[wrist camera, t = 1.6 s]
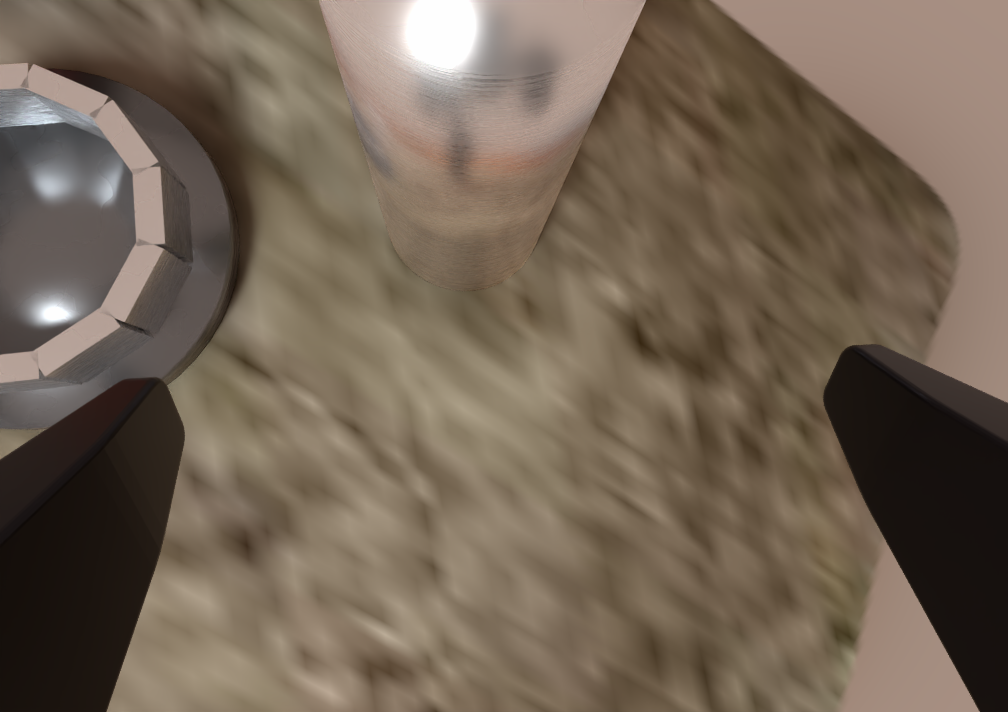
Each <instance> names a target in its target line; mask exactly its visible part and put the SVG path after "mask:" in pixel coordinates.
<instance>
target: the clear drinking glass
mask: <svg viewBox="0 0 1008 712" xmlns="http://www.w3.org/2000/svg"><path fill="white" fill-rule="evenodd" d="M645 2H646V0H319V3H320V6H321V10H322V13H323V16H324V20H325V23H326V26H327V30H328V33H329V36H330V40H331V43H332V46H333V50H334V53H335V56H336V60H337V63H338V66H339V70H340V73H341V76H342V80H343V83H344V86H345V90H346V93H347V96H348V100H349V103H350V106H351V110H352V113H353V116H354V120H355V123H356V127H357V130H358V133H359V137H360V140H361V143H362V147H363V150H364V153H365V157H366V160H367V163H368V167H369V170H370V173H371V177H372V180H373V183H374V187H375V190H376V193H377V197H378V200H379V203H380V207H381V210H382V213H383V217H384V220H385V223H386V227H387V230H388V233H389V236H390V240H391V242H392V245H393V247H394V249H395V251H396V252H397V254H398V255H399V257H400V258H401V260H402V261H403V262H404V263H405V265H406V266H407V267H408V268H409V269H410V270H412V271H413V272H414V273H415V274H416V275H418V276H419V277H421V278H422V279H424V280H425V281H427V282H429V283H431V284H433V285H436V286H439V287H442V288H445V289H450V290H456V291H475V290H481V289H485V288H488V287H492V286H494V285H497V284H499V283H501V282H503V281H505V280H506V279H508V278H509V277H511V276H512V275H513V274H515V273H516V272H517V271H518V270H519V269H520V268H521V267H522V266H523V265H524V264H525V262H526V261H527V260H528V258H529V257H530V255H531V253H532V251H533V249H534V247H535V245H536V243H537V241H538V239H539V236H540V234H541V232H542V230H543V228H544V225H545V223H546V221H547V219H548V217H549V214H550V212H551V210H552V208H553V205H554V203H555V201H556V199H557V197H558V194H559V192H560V190H561V188H562V186H563V183H564V181H565V179H566V177H567V174H568V172H569V170H570V168H571V166H572V163H573V161H574V159H575V157H576V155H577V152H578V150H579V148H580V146H581V143H582V141H583V139H584V137H585V135H586V132H587V130H588V128H589V126H590V124H591V121H592V119H593V117H594V115H595V112H596V110H597V108H598V106H599V104H600V101H601V99H602V97H603V95H604V93H605V90H606V88H607V86H608V84H609V81H610V79H611V77H612V75H613V73H614V70H615V68H616V66H617V64H618V62H619V59H620V57H621V55H622V53H623V50H624V48H625V46H626V44H627V42H628V39H629V37H630V35H631V33H632V31H633V28H634V26H635V24H636V22H637V19H638V17H639V15H640V13H641V11H642V8H643V6H644V4H645Z"/></svg>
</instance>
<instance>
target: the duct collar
mask: <svg viewBox="0 0 1008 712" xmlns="http://www.w3.org/2000/svg"><path fill="white" fill-rule="evenodd" d="M238 262H239V230H238V223H237V217H236V211H235V208H234V205H233V201H232V198H231V195H230V192H229V190H228V187H227V185H226V183H225V181H224V179H223V177H222V174H221V172H220V171H219V169H218V168H217V166H216V165H215V163H214V162H213V160H212V158H211V157H210V155H209V154H208V153H207V152H206V151H205V149H204V148H203V147H202V146H201V145H200V144H199V142H198V141H197V140H196V139H195V138H194V137H193V135H192V134H191V133H190V132H189V131H188V130H187V128H186V127H185V126H184V125H183V124H182V123H181V122H180V121H179V120H178V119H177V118H175V117H174V116H173V115H172V114H171V113H170V112H169V111H168V110H166V109H165V108H164V107H162V106H161V105H159V104H158V103H156V102H155V101H153V100H152V99H151V98H149V97H148V96H146V95H144V94H142V93H140V92H138V91H136V90H134V89H132V88H130V87H128V86H126V85H124V84H121V83H118V82H116V81H113V80H110V79H107V78H105V77H101V76H97V75H92V74H88V73H84V72H80V71H71V70H62V69H44V68H42V67H39V66H37V65H35V64H33V66H31V65H29V64H28V63H19V64H3V65H0V428H5V429H35V430H38V429H48V428H49V427H51V426H52V425H54V424H55V423H57V422H58V421H60V420H61V419H63V418H64V417H66V416H68V415H69V414H71V413H72V412H74V411H75V410H77V409H78V408H80V407H81V406H83V405H84V404H86V403H87V402H89V401H90V400H92V399H93V398H95V397H96V396H98V395H99V394H101V393H102V392H104V391H106V390H107V389H109V388H110V387H112V386H113V385H115V384H116V383H118V382H119V381H121V380H123V379H127V378H140V377H158V378H160V379H162V380H163V381H164V382H165V383H166V385H168V384H169V383H171V382H172V381H173V380H174V379H176V378H177V377H178V376H179V375H180V374H181V373H182V372H183V371H184V370H185V369H186V368H187V367H188V366H189V365H190V364H191V363H192V362H193V361H194V360H195V359H196V358H197V356H198V355H199V354H200V353H201V351H202V350H203V349H204V347H205V346H206V345H207V344H208V342H209V341H210V339H211V338H212V336H213V334H214V333H215V331H216V329H217V327H218V326H219V324H220V322H221V321H222V318H223V316H224V314H225V311H226V309H227V307H228V304H229V302H230V299H231V296H232V292H233V289H234V285H235V281H236V277H237V270H238Z"/></svg>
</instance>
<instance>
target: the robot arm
mask: <svg viewBox="0 0 1008 712" xmlns="http://www.w3.org/2000/svg"><path fill="white" fill-rule="evenodd" d="M823 401H824V406H825V410H826V412H827V414H828V417H829V419H830V421H831V424H832V426H833V429H834V431H835V433H836V436H837V438H838V440H839V443H840V445H841V448H842V450H843V452H844V455H845V457H846V459H847V462H848V464H849V467H850V469H851V471H852V474H853V476H854V479H855V481H856V483H857V486H858V488H859V490H860V492H861V494H862V497H863V499H864V501H865V503H866V505H867V507H868V509H869V511H870V513H871V515H872V517H873V518H874V520H875V522H876V524H877V526H878V527H879V529H880V531H881V533H882V535H883V537H884V538H885V540H886V542H887V544H888V546H889V548H890V549H891V551H892V553H893V555H894V556H895V558H896V560H897V562H898V564H899V566H900V568H901V569H902V571H903V573H904V575H905V577H906V578H907V580H908V582H909V584H910V586H911V588H912V589H913V591H914V593H915V595H916V597H917V598H918V600H919V602H920V604H921V606H922V608H923V609H924V611H925V613H926V615H927V617H928V619H929V620H930V622H931V624H932V626H933V627H934V629H935V631H936V633H937V635H938V637H939V638H940V640H941V642H942V644H943V646H944V648H945V649H946V651H947V653H948V655H949V657H950V659H951V660H952V662H953V664H954V666H955V668H956V669H957V671H958V673H959V675H960V676H961V679H962V680H963V682H964V684H965V686H966V687H967V689H968V691H969V693H970V695H971V697H972V699H973V700H974V702H975V704H976V706H977V708H978V710H979V711H980V712H1008V403H1007V402H1004V401H1002V400H1000V399H998V398H995V397H993V396H991V395H989V394H987V393H985V392H982V391H980V390H978V389H976V388H974V387H972V386H969V385H967V384H965V383H963V382H961V381H958V380H956V379H954V378H952V377H949V376H947V375H945V374H943V373H941V372H939V371H936V370H934V369H932V368H930V367H928V366H925V365H923V364H921V363H919V362H917V361H915V360H912V359H910V358H908V357H906V356H904V355H901V354H899V353H897V352H895V351H893V350H890V349H888V348H886V347H884V346H881V345H876V344H870V345H852V346H849V347H847V348H846V349H845V350H844V351H843V352H842V353H841V355H840V357H839V359H838V361H837V363H836V366H835V368H834V370H833V372H832V374H831V376H830V379H829V381H828V383H827V385H826V387H825V390H824V395H823ZM184 440H185V432H184V426H183V423H182V420H181V418H180V415H179V413H178V411H177V408H176V406H175V404H174V401H173V399H172V396H171V394H170V392H169V389H168V387H167V385H166V383H165V382H164V381H163V380H162V379H160V378H158V377H140V378H127V379H123V380H121V381H119V382H118V383H116V384H115V385H113V386H112V387H110V388H109V389H107V390H106V391H104V392H102V393H101V394H99V395H98V396H96V397H95V398H93V399H92V400H90V401H89V402H87V403H86V404H84V405H83V406H81V407H80V408H78V409H77V410H75V411H74V412H72V413H71V414H69V415H68V416H66V417H64V418H63V419H61V420H60V421H58V422H57V423H55V424H54V425H52V426H51V427H49V428H48V429H46V430H45V431H43V432H42V433H40V434H39V435H37V436H36V437H34V438H32V439H31V440H29V441H28V442H26V443H25V444H23V445H22V446H20V447H19V448H17V449H16V450H14V451H13V452H11V453H10V454H8V455H7V456H5V457H4V458H2V459H0V712H107V709H108V706H109V703H110V700H111V697H112V694H113V691H114V688H115V685H116V682H117V679H118V676H119V674H120V671H121V668H122V665H123V662H124V659H125V656H126V653H127V650H128V647H129V644H130V641H131V638H132V635H133V633H134V630H135V627H136V624H137V621H138V618H139V615H140V612H141V609H142V606H143V603H144V600H145V597H146V594H147V592H148V589H149V586H150V583H151V580H152V577H153V574H154V571H155V568H156V565H157V561H158V558H159V555H160V552H161V548H162V544H163V540H164V536H165V531H166V527H167V522H168V517H169V513H170V508H171V503H172V498H173V494H174V489H175V484H176V479H177V475H178V470H179V465H180V461H181V456H182V451H183V446H184Z"/></svg>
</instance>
